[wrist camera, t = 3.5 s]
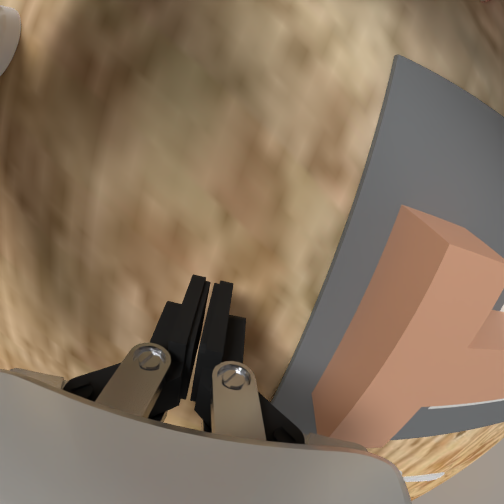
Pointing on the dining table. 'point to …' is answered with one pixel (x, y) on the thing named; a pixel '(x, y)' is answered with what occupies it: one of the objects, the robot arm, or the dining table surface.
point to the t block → (416, 334)
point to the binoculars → (8, 35)
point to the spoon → (422, 477)
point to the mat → (384, 216)
